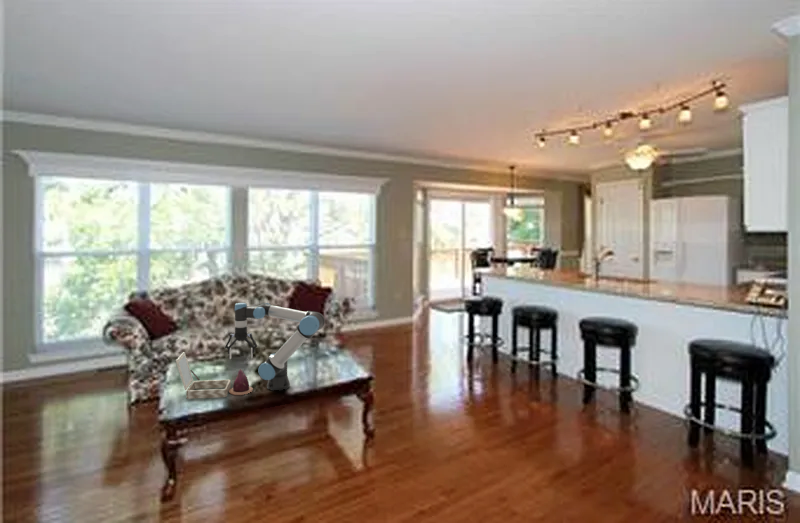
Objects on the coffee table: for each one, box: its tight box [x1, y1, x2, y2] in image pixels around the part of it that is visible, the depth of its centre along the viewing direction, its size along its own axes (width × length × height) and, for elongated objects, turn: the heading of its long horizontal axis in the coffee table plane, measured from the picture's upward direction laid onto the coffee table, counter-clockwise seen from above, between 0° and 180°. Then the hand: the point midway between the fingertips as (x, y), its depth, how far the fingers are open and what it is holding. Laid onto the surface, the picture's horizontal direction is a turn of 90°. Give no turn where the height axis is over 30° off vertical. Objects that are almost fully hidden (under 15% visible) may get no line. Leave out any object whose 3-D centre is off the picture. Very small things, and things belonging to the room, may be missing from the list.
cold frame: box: [185, 369, 232, 400], centre depth 326 cm, size 26×20×13 cm
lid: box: [175, 351, 194, 391], centre depth 323 cm, size 20×20×1 cm
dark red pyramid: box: [232, 368, 250, 392], centre depth 331 cm, size 10×10×15 cm
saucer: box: [228, 386, 254, 396], centre depth 331 cm, size 15×15×1 cm
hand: (241, 358), depth 329 cm, fingers open, 13 cm apart
